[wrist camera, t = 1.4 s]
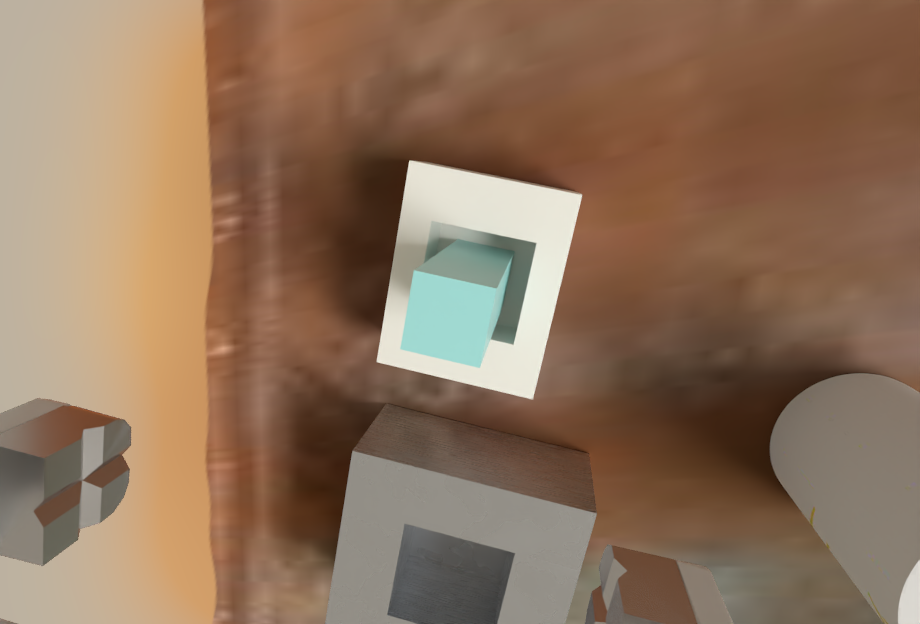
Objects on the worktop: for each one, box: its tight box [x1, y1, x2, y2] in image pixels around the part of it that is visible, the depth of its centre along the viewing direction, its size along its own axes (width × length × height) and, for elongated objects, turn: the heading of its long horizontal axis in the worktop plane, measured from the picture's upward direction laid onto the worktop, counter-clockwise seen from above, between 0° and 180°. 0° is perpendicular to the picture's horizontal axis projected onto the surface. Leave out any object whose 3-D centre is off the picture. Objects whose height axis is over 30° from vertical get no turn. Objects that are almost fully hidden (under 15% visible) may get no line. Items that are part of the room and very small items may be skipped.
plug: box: [400, 239, 515, 368], centre depth 25 cm, size 3×3×10 cm
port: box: [325, 404, 597, 624], centre depth 32 cm, size 12×12×6 cm
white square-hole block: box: [377, 160, 582, 399], centre depth 29 cm, size 10×8×4 cm
